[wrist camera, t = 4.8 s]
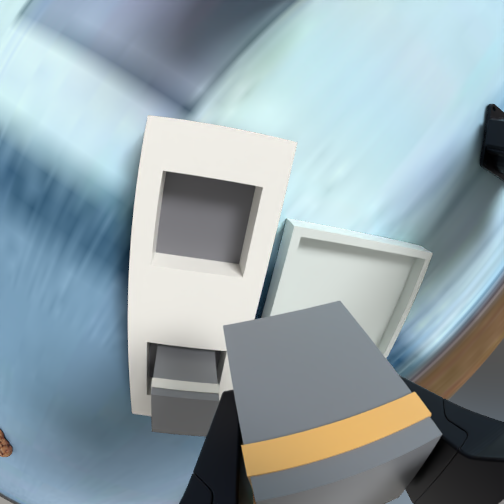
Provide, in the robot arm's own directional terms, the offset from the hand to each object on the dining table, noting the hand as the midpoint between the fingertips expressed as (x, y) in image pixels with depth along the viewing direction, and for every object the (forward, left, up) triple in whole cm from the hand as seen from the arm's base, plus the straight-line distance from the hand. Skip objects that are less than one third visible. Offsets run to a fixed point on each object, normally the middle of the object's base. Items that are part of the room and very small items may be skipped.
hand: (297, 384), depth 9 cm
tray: (-8, +4, -12) cm, 15 cm away
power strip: (+3, +4, -12) cm, 13 cm away
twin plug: (+3, +9, -11) cm, 15 cm away
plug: (0, 0, -1) cm, 1 cm away
